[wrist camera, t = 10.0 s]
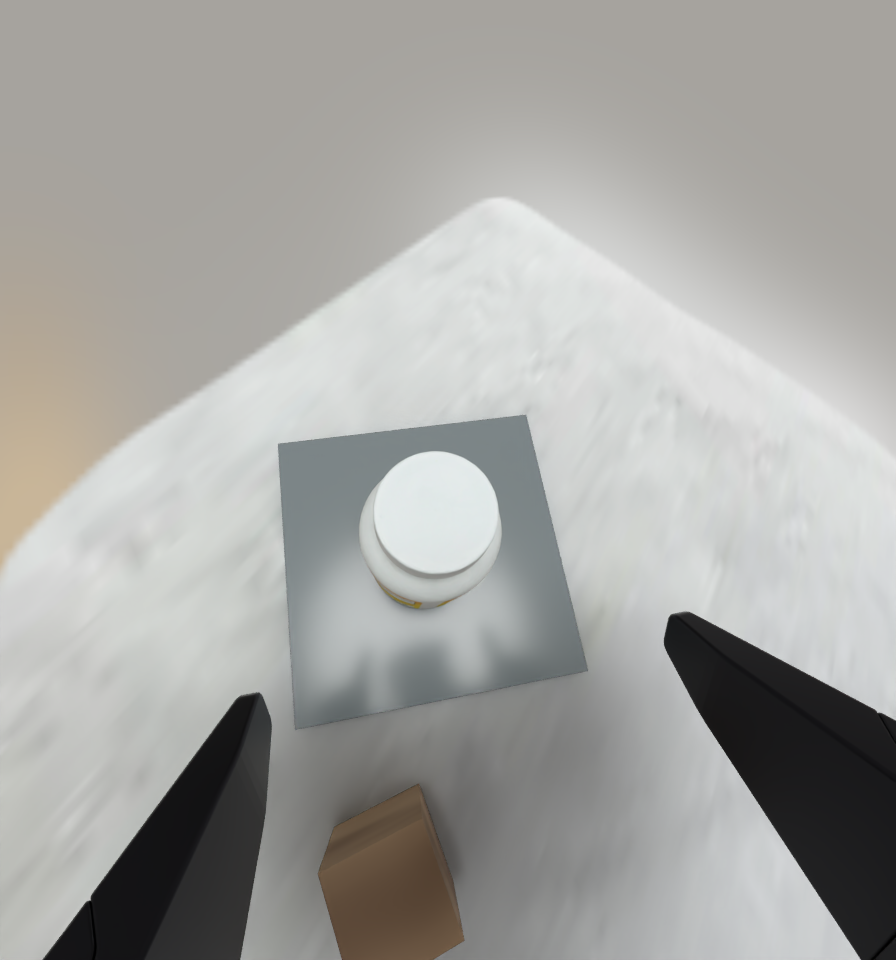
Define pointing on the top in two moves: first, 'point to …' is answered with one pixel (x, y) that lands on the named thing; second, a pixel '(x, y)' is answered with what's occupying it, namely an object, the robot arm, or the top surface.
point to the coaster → (404, 630)
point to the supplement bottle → (430, 529)
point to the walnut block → (390, 884)
